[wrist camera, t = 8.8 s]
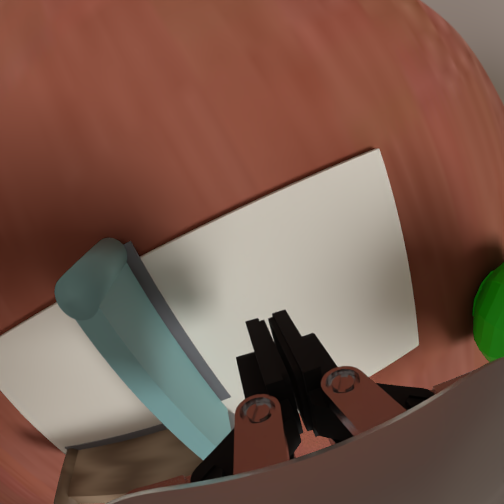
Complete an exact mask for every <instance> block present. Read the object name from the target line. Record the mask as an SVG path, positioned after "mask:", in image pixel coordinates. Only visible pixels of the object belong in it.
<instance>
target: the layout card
mask: <svg viewBox="0 0 504 504" xmlns="http://www.w3.org/2000/svg"><path fill="white" fill-rule="evenodd" d="M124 247H125V249H126V251H127V264H128V265H129V267H130V269H131V271H132V272H133V274H134V276H135V277H136V279H137V281H138V282H139V284H140V286H141V287H142V289H143V290H144V292H145V294H146V295H147V297H148V299H149V300H150V302H151V303H152V305H153V306H154V308H155V310H156V311H157V313H158V314H159V316H160V317H161V319H162V320H163V322H164V323H165V325H166V326H167V328H168V329H169V331H170V332H171V334H172V335H173V337H174V338H175V340H176V341H177V342H178V344H179V345H180V347H181V348H182V350H183V351H184V352H185V354H186V355H187V357H188V358H189V359H190V361H191V362H192V364H193V365H194V366H195V368H196V369H197V370H198V372H199V373H200V374H201V376H202V377H203V378H204V380H205V381H206V382H207V384H208V385H209V386H210V388H211V389H212V390H213V391H214V393H215V394H216V395H217V396H218V398H219V399H220V400H221V402H222V403H223V404H224V405H225V406H226V408H227V410H228V412H232V413H234V414H235V411H236V408H237V406H238V405H239V404H240V403H241V402H242V401H243V400H244V399H245V396H244V392H243V388H242V383H241V379H240V374H239V370H238V365H237V361H236V357H238V356H241V355H245V354H248V353H251V352H254V349H253V346H252V343H251V339H250V336H249V333H248V330H247V326H246V323H245V321H249V320H252V319H255V318H258V319H259V321H261V320H265V323H266V325H267V327H268V329H269V332H270V334H271V336H272V332H271V329H270V325H269V321H268V318H271V317H272V313H275V312H278V311H281V310H284V309H285V310H286V311H287V313H288V315H289V316H290V318H291V320H292V321H293V323H294V325H295V326H296V328H297V329H298V331H299V333H300V334H301V336H305V335H308V334H311V333H314V334H315V335H316V336H317V338H318V339H319V341H320V342H321V343H322V345H323V346H324V348H325V349H326V351H327V352H328V354H329V355H330V356H331V358H332V359H333V361H334V362H335V364H336V365H337V367H341V366H352V367H356V368H358V369H359V370H361V371H362V372H363V373H364V374H366V375H367V376H368V377H370V376H371V375H373V374H375V373H376V372H378V371H380V370H381V369H383V368H385V367H386V366H388V365H389V364H391V363H393V362H394V361H396V360H397V359H399V358H400V357H402V356H403V355H405V354H406V353H408V352H409V351H411V350H412V349H414V348H415V347H417V346H418V345H419V339H418V328H417V319H416V310H415V302H414V295H413V288H412V282H411V276H410V270H409V264H408V259H407V253H406V248H405V243H404V239H403V234H402V229H401V225H400V221H399V217H398V212H397V208H396V204H395V201H394V197H393V193H392V189H391V186H390V182H389V179H388V175H387V172H386V169H385V165H384V162H383V159H382V156H381V153H380V150H379V149H373V150H370V151H368V152H365V153H363V154H360V155H358V156H356V157H353V158H351V159H348V160H346V161H343V162H341V163H339V164H336V165H334V166H332V167H329V168H327V169H324V170H322V171H320V172H317V173H315V174H313V175H311V176H308V177H306V178H304V179H301V180H299V181H297V182H295V183H292V184H290V185H288V186H285V187H283V188H281V189H279V190H277V191H274V192H272V193H270V194H268V195H265V196H263V197H261V198H259V199H257V200H255V201H252V202H250V203H248V204H246V205H244V206H242V207H240V208H237V209H235V210H233V211H231V212H229V213H227V214H225V215H223V216H220V217H218V218H216V219H214V220H212V221H210V222H208V223H206V224H204V225H202V226H200V227H198V228H196V229H194V230H192V231H190V232H188V233H186V234H184V235H182V236H180V237H178V238H176V239H174V240H172V241H170V242H168V243H166V244H164V245H162V246H160V247H158V248H156V249H154V250H152V251H150V252H148V253H146V254H144V255H142V256H139V255H138V253H137V251H136V249H135V248H134V246H133V244H132V242H131V241H129V242H128V243H126V244H124ZM272 338H273V336H272ZM273 341H274V340H273ZM0 390H1V391H2V393H3V394H4V395H5V396H6V397H7V398H8V399H9V401H10V402H11V403H12V404H13V405H14V406H15V407H16V408H17V409H18V410H19V411H20V412H21V414H22V415H23V416H24V417H25V418H26V419H27V420H28V421H29V422H30V423H31V424H32V425H33V426H34V427H35V428H37V429H38V430H39V431H40V432H41V433H42V434H43V435H44V436H45V437H46V438H47V439H48V440H49V441H51V442H52V443H53V444H54V445H55V446H56V447H57V448H59V449H60V450H61V451H62V452H63V453H65V454H66V452H67V449H70V448H73V449H77V450H82V449H88V448H93V447H98V446H103V445H108V444H112V443H117V442H121V441H125V440H129V439H133V438H137V437H141V436H145V435H149V434H152V433H156V432H159V431H163V430H166V429H168V428H167V427H166V426H165V425H164V424H163V423H162V422H161V421H160V420H159V419H158V418H157V417H156V416H155V415H154V414H153V413H152V412H151V411H150V410H149V409H148V408H147V407H146V406H145V405H144V404H143V403H142V402H141V401H140V400H139V399H138V397H137V396H136V395H135V394H134V393H133V392H132V391H131V390H130V389H129V388H128V386H127V385H126V384H125V383H124V382H123V381H122V379H121V378H120V377H119V376H118V375H117V374H116V372H115V371H114V370H113V369H112V368H111V366H110V365H109V364H108V363H107V361H106V360H105V359H104V358H103V356H102V355H101V354H100V353H99V351H98V350H97V349H96V347H95V346H94V345H93V343H92V342H91V341H90V339H89V338H88V337H87V335H86V334H85V333H84V331H83V330H82V328H81V327H80V326H79V324H78V323H77V321H76V320H75V319H73V318H71V317H69V316H68V315H66V314H65V313H64V312H63V311H62V310H61V308H60V307H59V305H58V304H57V302H56V303H54V304H52V305H51V306H49V307H47V308H46V309H44V310H42V311H40V312H39V313H37V314H35V315H34V316H32V317H30V318H29V319H27V320H25V321H24V322H22V323H20V324H19V325H17V326H15V327H14V328H12V329H10V330H9V331H7V332H5V333H4V334H2V335H1V336H0ZM298 413H299V411H298Z"/></svg>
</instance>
